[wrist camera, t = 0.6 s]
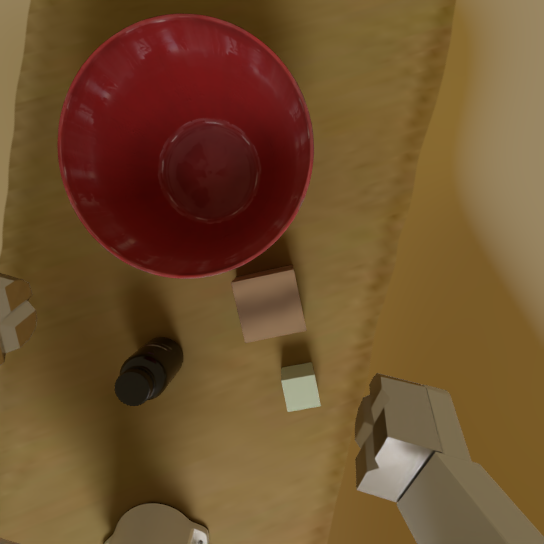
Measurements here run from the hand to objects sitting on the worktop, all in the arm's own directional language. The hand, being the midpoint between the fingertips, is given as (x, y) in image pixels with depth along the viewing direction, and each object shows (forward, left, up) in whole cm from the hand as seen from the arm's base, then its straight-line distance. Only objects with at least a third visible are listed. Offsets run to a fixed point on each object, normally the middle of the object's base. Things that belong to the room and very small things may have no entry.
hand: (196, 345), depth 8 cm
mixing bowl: (+12, +6, -48) cm, 50 cm away
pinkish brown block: (-9, +1, -48) cm, 49 cm away
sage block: (-23, -1, -48) cm, 53 cm away
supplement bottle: (-15, +20, -48) cm, 55 cm away
